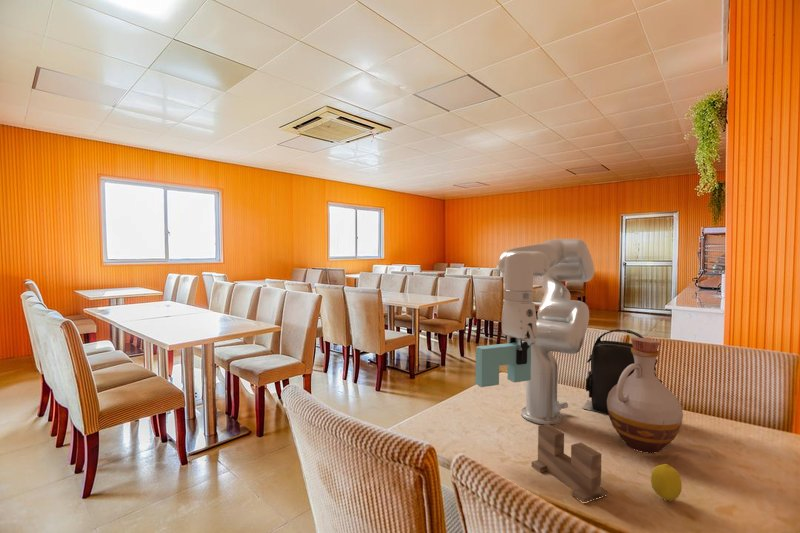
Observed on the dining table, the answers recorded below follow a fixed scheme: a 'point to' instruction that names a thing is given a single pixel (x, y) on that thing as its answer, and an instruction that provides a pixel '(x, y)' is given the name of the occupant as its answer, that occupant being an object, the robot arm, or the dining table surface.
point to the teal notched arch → (497, 356)
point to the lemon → (666, 482)
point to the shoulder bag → (607, 369)
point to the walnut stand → (570, 464)
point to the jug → (644, 403)
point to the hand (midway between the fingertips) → (517, 361)
